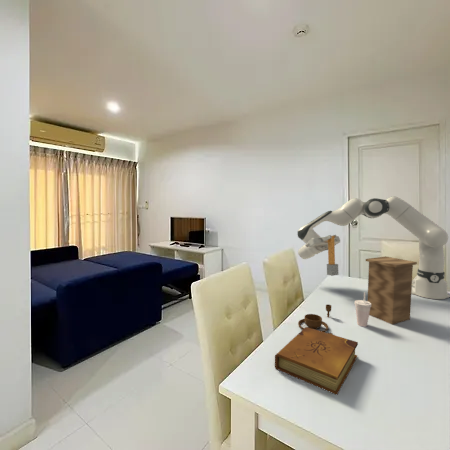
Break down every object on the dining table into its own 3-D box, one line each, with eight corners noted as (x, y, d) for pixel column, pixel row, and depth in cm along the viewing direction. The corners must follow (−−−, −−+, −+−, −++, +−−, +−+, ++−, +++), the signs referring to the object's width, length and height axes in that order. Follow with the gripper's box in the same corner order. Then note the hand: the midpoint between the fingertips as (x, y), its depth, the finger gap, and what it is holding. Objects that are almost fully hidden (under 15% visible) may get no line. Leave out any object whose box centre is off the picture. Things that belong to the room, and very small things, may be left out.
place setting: (289, 321, 118) (289, 308, 117) (328, 315, 123) (328, 303, 122) (312, 340, 101) (312, 325, 100) (356, 333, 106) (356, 319, 105)
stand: (363, 313, 124) (365, 258, 122) (383, 308, 129) (385, 256, 127) (393, 326, 111) (395, 265, 109) (413, 320, 117) (416, 262, 115)
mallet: (326, 235, 149) (330, 236, 146) (332, 235, 151) (337, 235, 148) (327, 274, 150) (331, 275, 147) (333, 273, 152) (338, 274, 149)
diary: (303, 340, 101) (304, 326, 100) (357, 358, 89) (357, 342, 88) (274, 369, 83) (274, 352, 82) (336, 396, 71) (337, 376, 71)
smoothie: (372, 328, 109) (374, 295, 108) (356, 327, 110) (357, 294, 109) (367, 322, 115) (369, 290, 114) (352, 320, 116) (353, 289, 115)
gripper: (302, 241, 156) (316, 232, 145) (328, 239, 165) (344, 230, 153) (305, 251, 154) (320, 242, 142) (331, 249, 162) (348, 240, 151)
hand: (333, 236), depth 148 cm, fingers closed on mallet, 2 cm apart
